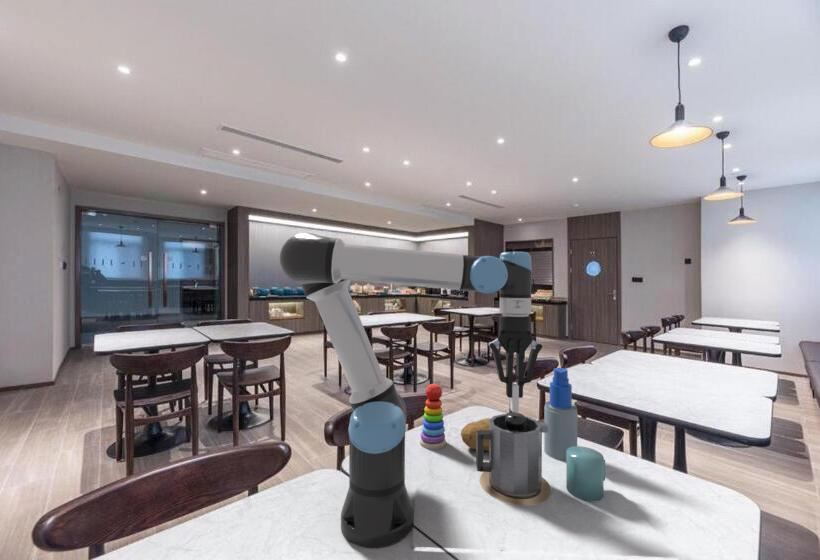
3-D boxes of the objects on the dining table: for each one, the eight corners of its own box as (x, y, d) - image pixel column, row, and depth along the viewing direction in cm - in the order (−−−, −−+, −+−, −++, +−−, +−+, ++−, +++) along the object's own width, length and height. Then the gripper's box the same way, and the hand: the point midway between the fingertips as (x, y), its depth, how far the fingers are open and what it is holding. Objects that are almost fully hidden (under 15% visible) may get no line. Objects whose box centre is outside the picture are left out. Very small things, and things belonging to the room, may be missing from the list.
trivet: (485, 506, 82) (485, 503, 82) (475, 467, 99) (475, 465, 99) (562, 509, 81) (562, 506, 81) (539, 469, 98) (539, 467, 98)
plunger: (499, 473, 86) (499, 422, 86) (492, 454, 95) (492, 408, 95) (539, 474, 85) (539, 423, 85) (528, 455, 94) (528, 409, 94)
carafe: (480, 497, 84) (480, 433, 84) (473, 469, 97) (473, 413, 97) (554, 500, 83) (554, 434, 83) (538, 471, 96) (538, 414, 96)
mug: (583, 506, 82) (583, 464, 82) (559, 487, 90) (559, 448, 90) (617, 499, 85) (617, 458, 85) (590, 480, 93) (591, 443, 92)
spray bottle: (547, 445, 112) (548, 364, 112) (579, 452, 107) (579, 368, 107) (541, 457, 105) (541, 370, 105) (574, 465, 100) (575, 374, 100)
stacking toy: (447, 451, 108) (447, 388, 108) (420, 451, 108) (420, 388, 108) (444, 439, 116) (445, 380, 116) (419, 439, 116) (420, 380, 116)
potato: (459, 442, 114) (459, 413, 114) (509, 443, 113) (509, 413, 113) (462, 456, 105) (462, 424, 105) (516, 457, 105) (516, 424, 105)
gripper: (490, 316, 86) (490, 415, 87) (546, 316, 86) (546, 416, 86) (486, 313, 94) (485, 404, 94) (537, 313, 93) (536, 405, 93)
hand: (514, 410), depth 90 cm, fingers closed
